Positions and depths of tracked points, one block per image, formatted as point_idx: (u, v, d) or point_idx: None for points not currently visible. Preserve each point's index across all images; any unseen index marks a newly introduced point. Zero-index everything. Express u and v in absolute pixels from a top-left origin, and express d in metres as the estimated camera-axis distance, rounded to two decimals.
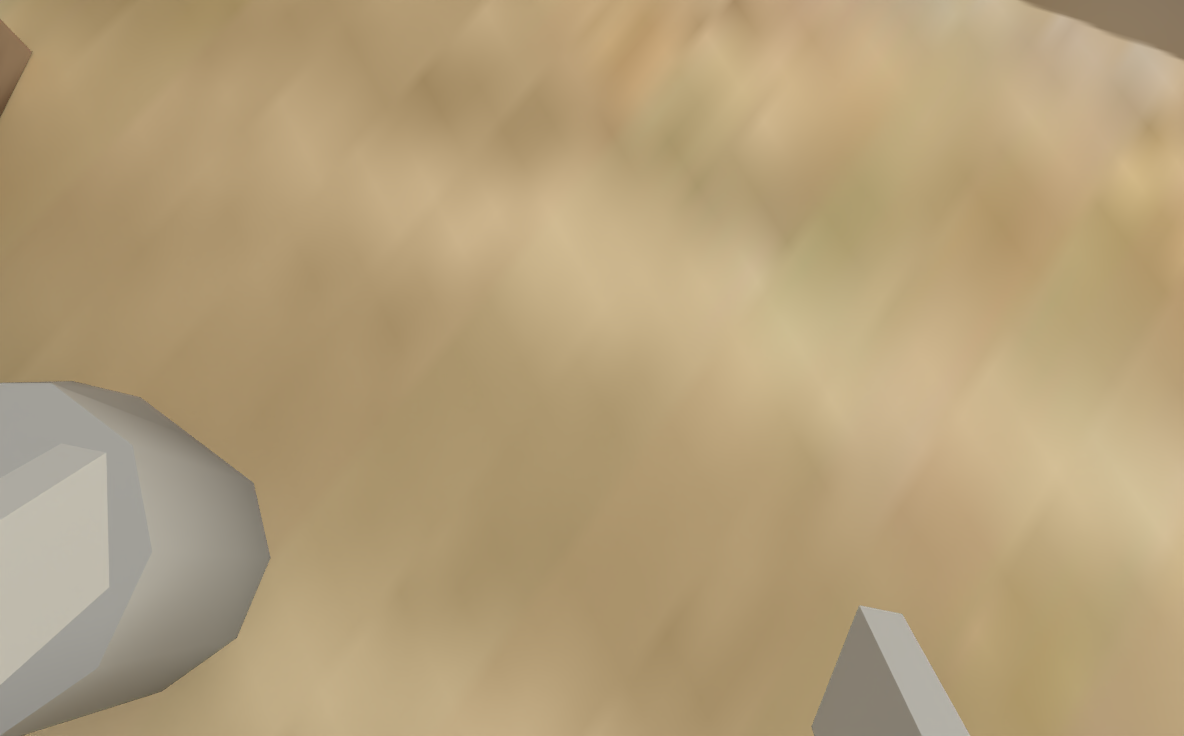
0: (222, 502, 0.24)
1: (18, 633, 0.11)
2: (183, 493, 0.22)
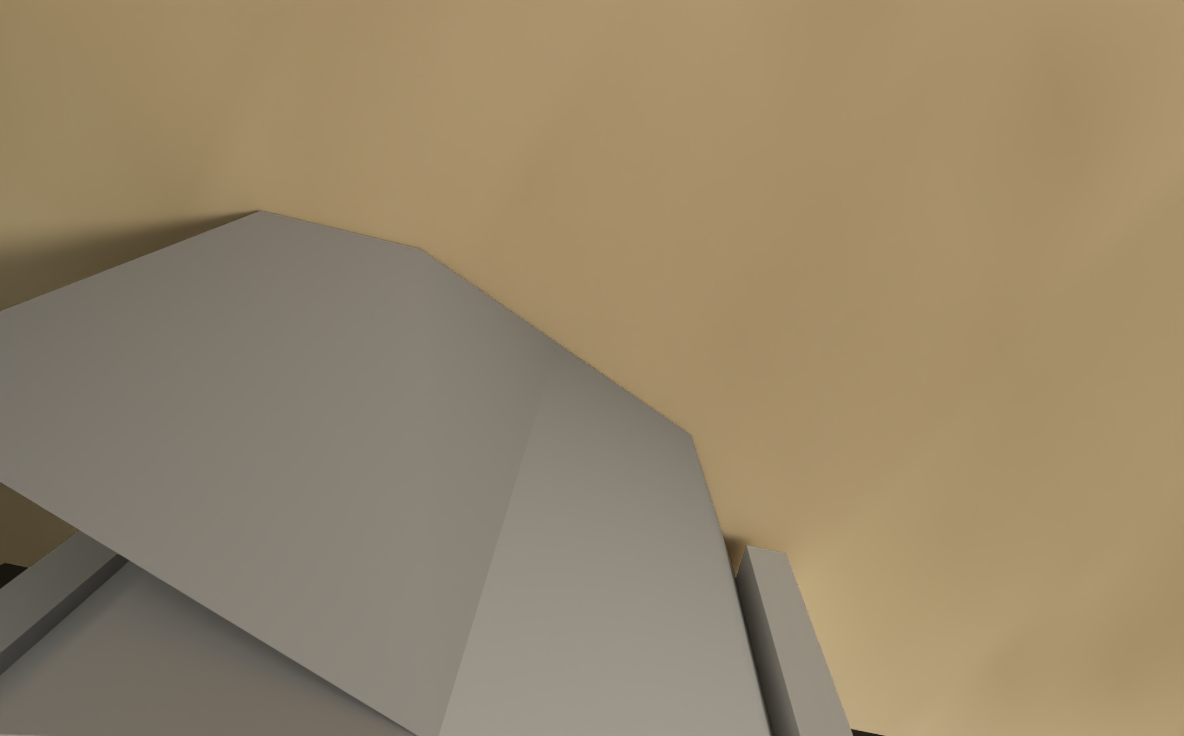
0: (733, 600, 0.10)
1: None
2: None
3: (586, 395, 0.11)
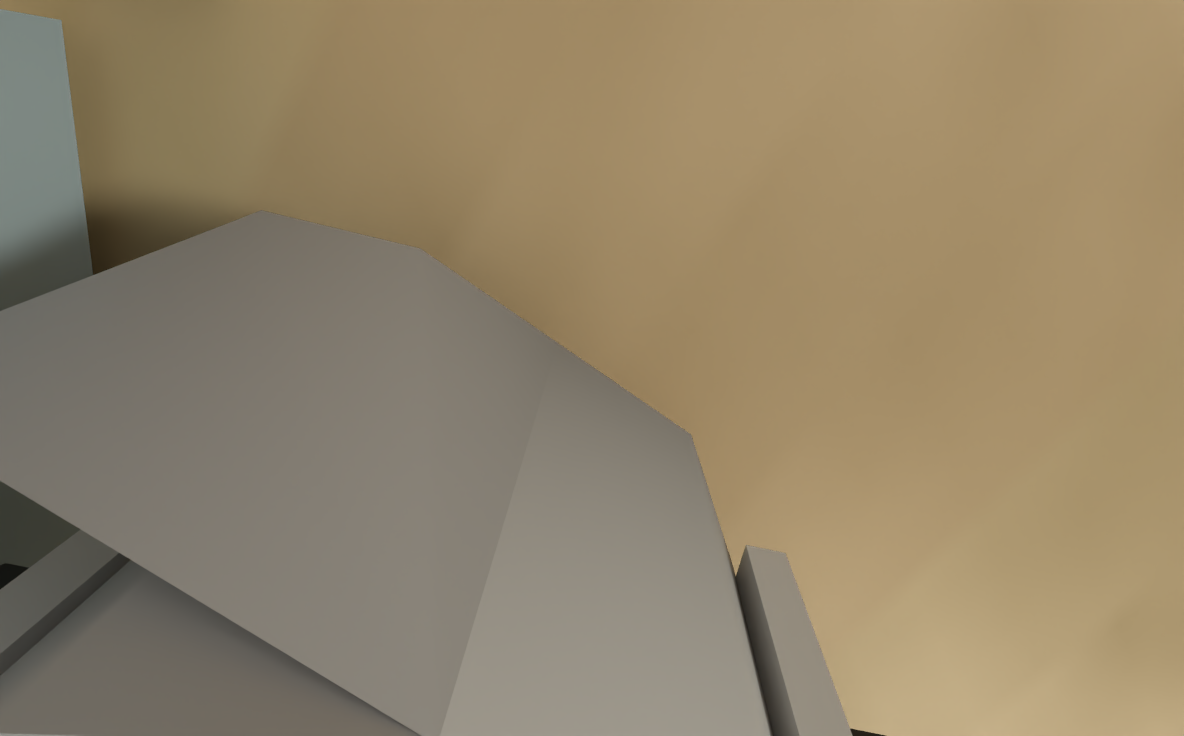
0: (733, 600, 0.10)
1: None
2: None
3: (586, 395, 0.11)
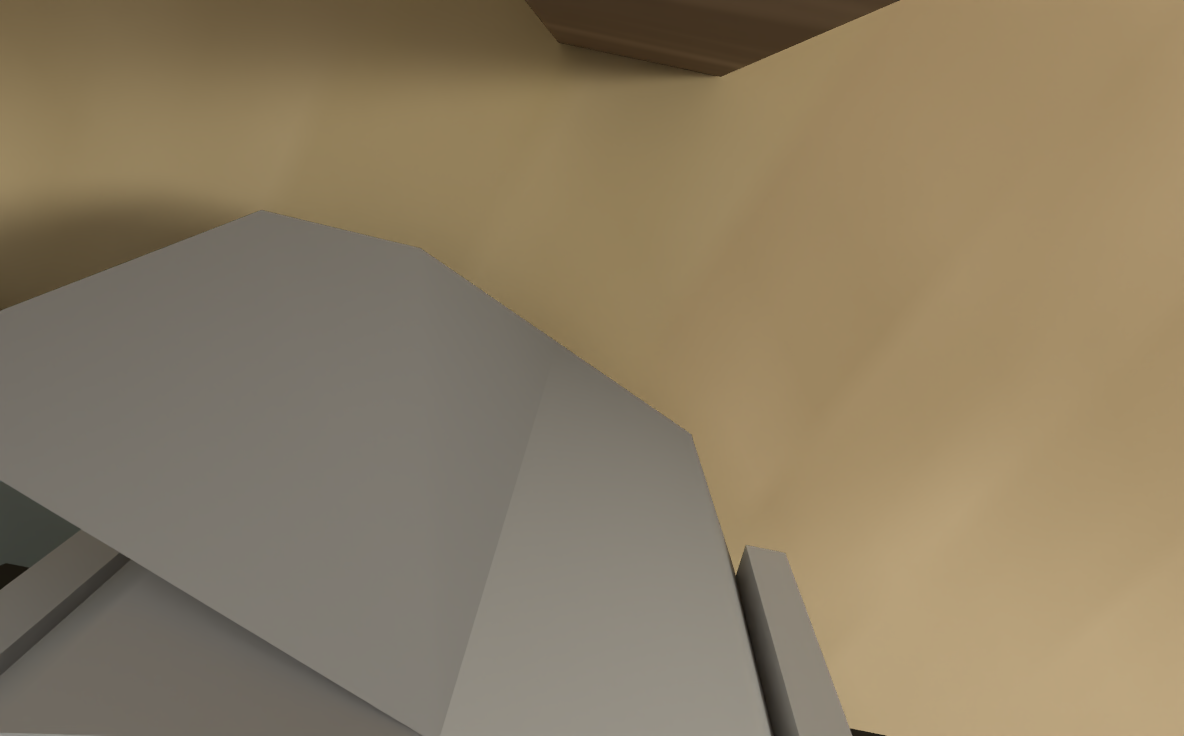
0: (733, 600, 0.10)
1: None
2: None
3: (586, 394, 0.11)
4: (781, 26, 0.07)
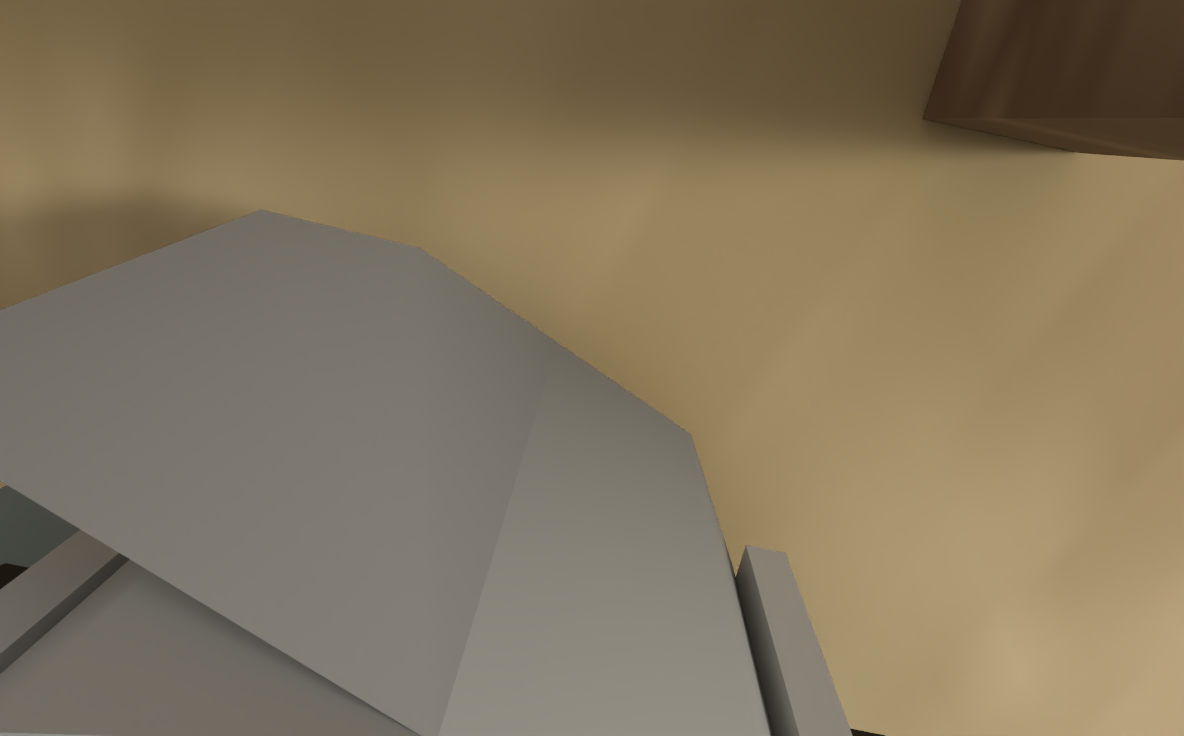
0: (733, 600, 0.10)
1: None
2: None
3: (586, 394, 0.11)
4: None
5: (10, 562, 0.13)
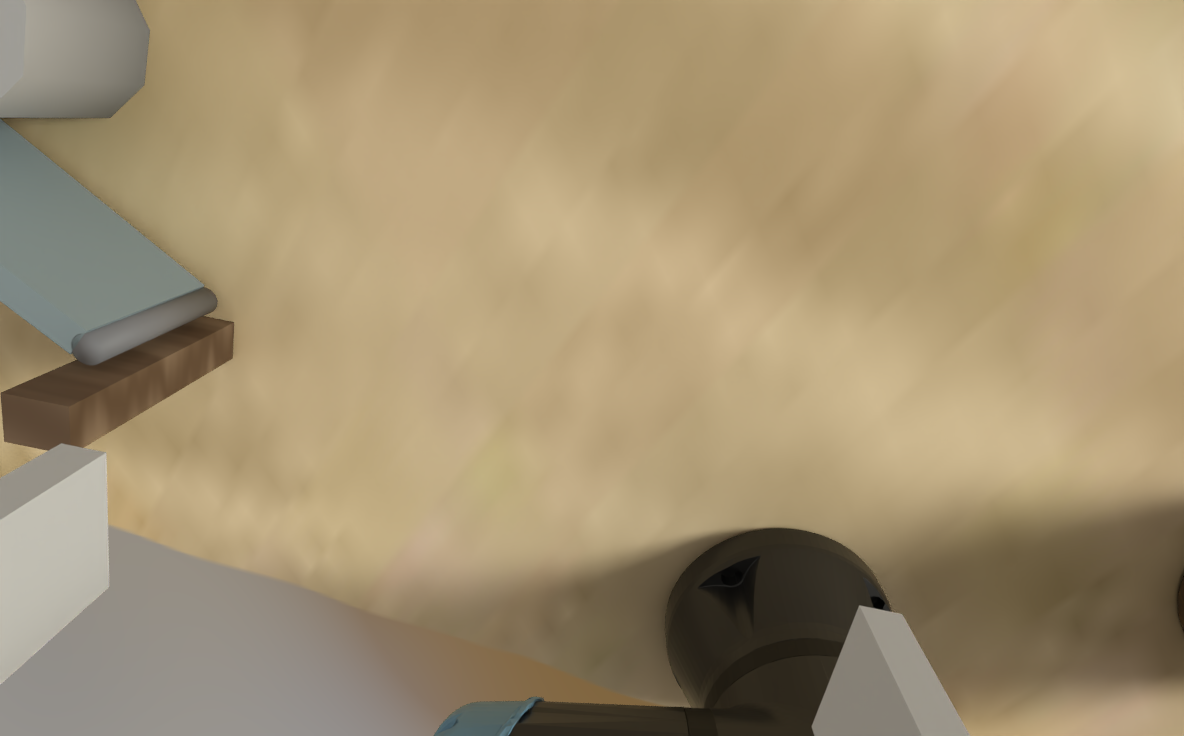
0: None
1: (17, 633, 0.11)
2: None
3: None
4: None
5: None
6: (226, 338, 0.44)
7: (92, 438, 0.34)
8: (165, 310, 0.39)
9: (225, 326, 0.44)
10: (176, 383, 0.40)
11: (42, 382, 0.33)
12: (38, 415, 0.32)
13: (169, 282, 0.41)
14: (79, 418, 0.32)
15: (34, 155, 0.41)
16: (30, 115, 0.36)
